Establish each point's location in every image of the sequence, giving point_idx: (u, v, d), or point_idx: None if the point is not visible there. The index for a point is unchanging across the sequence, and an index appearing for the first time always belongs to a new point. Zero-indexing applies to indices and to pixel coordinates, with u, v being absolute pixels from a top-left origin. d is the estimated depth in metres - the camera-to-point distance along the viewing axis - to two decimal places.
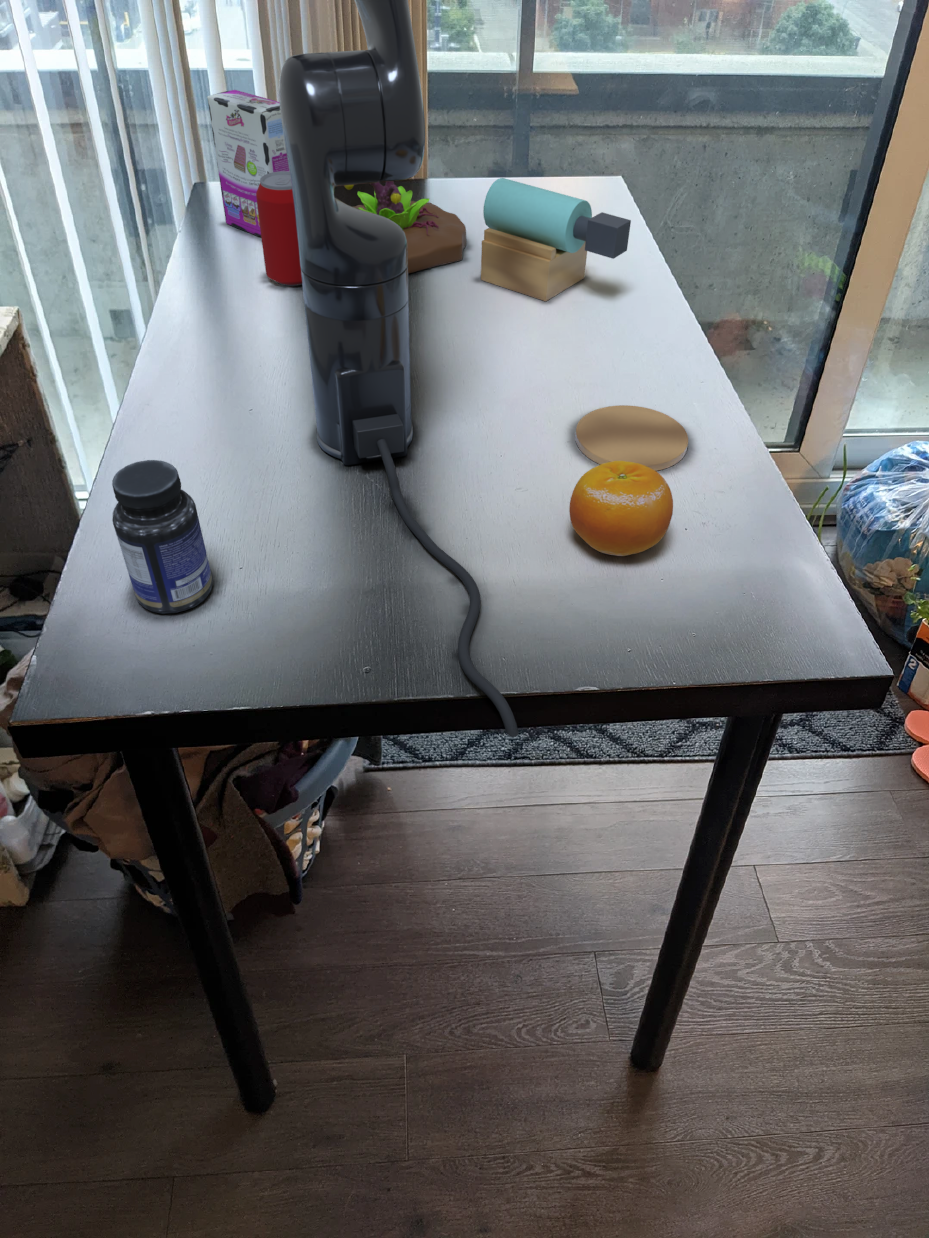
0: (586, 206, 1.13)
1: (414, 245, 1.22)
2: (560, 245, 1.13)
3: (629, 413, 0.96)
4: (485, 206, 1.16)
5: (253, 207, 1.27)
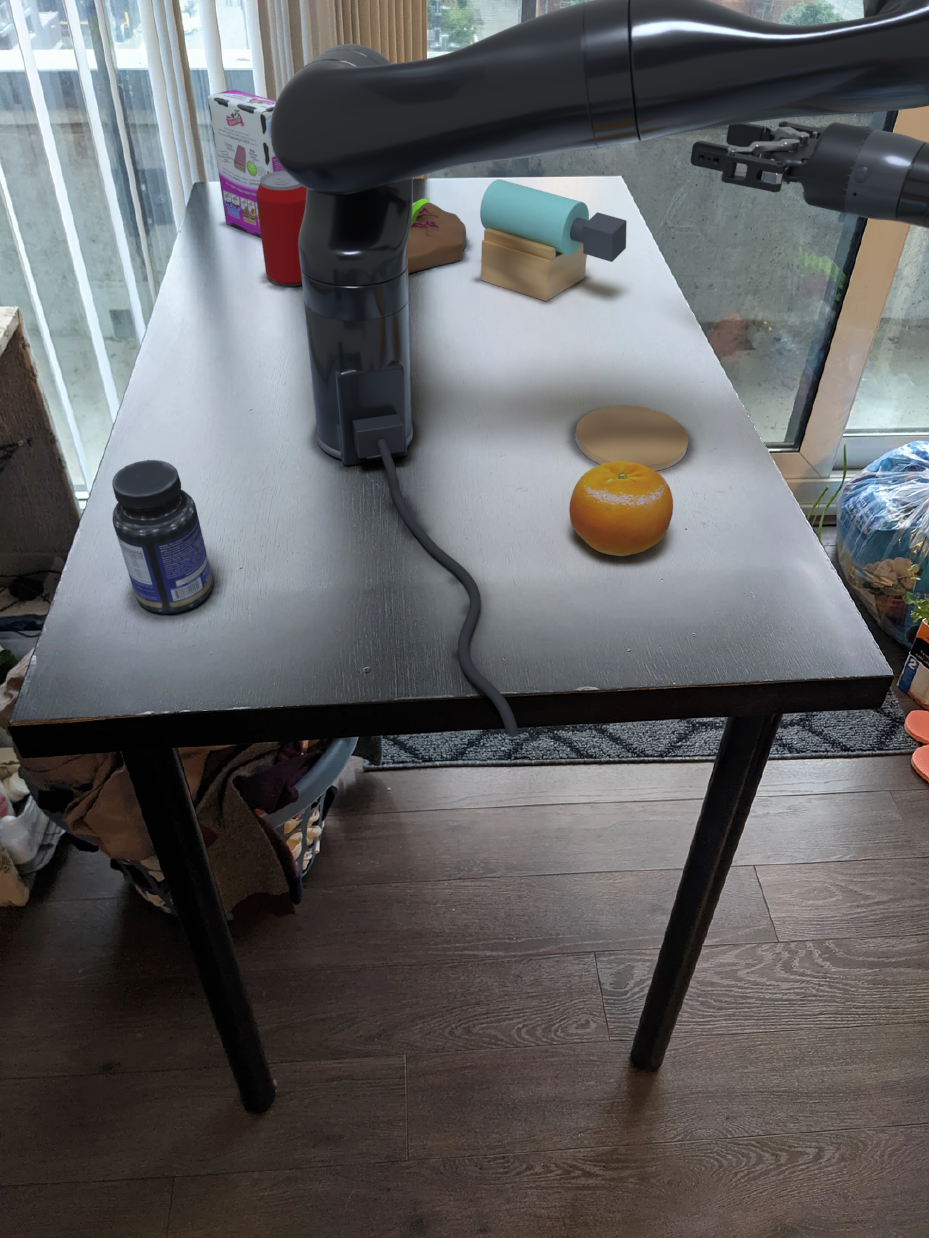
0: (581, 207, 1.12)
1: (414, 245, 1.22)
2: (558, 250, 1.14)
3: (629, 413, 0.96)
4: (481, 213, 1.16)
5: (253, 207, 1.27)
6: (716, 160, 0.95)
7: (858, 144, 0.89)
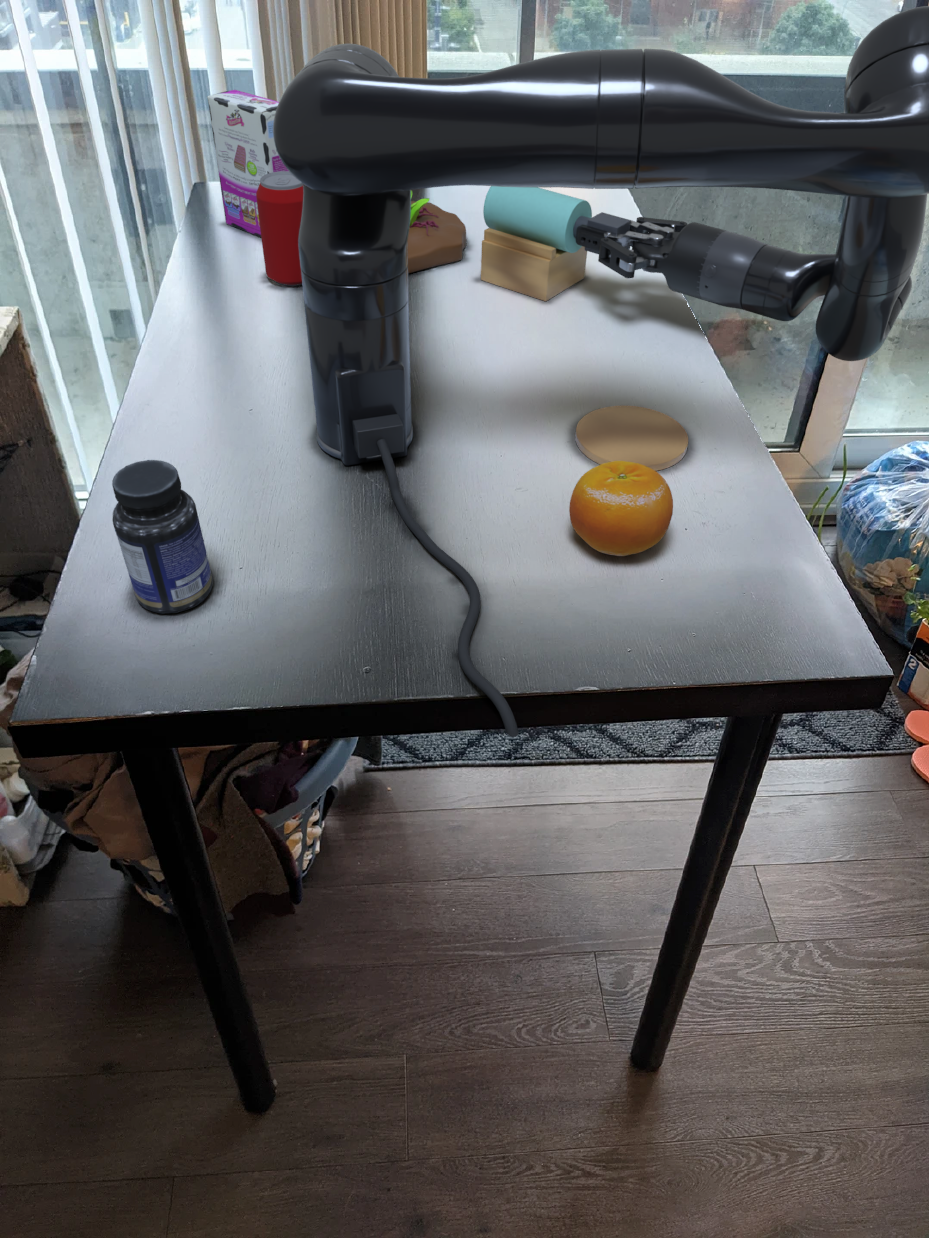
0: (586, 206, 1.13)
1: (414, 245, 1.22)
2: (560, 245, 1.13)
3: (629, 413, 0.96)
4: (485, 206, 1.16)
5: (253, 207, 1.27)
6: (595, 242, 1.10)
7: (708, 244, 1.02)
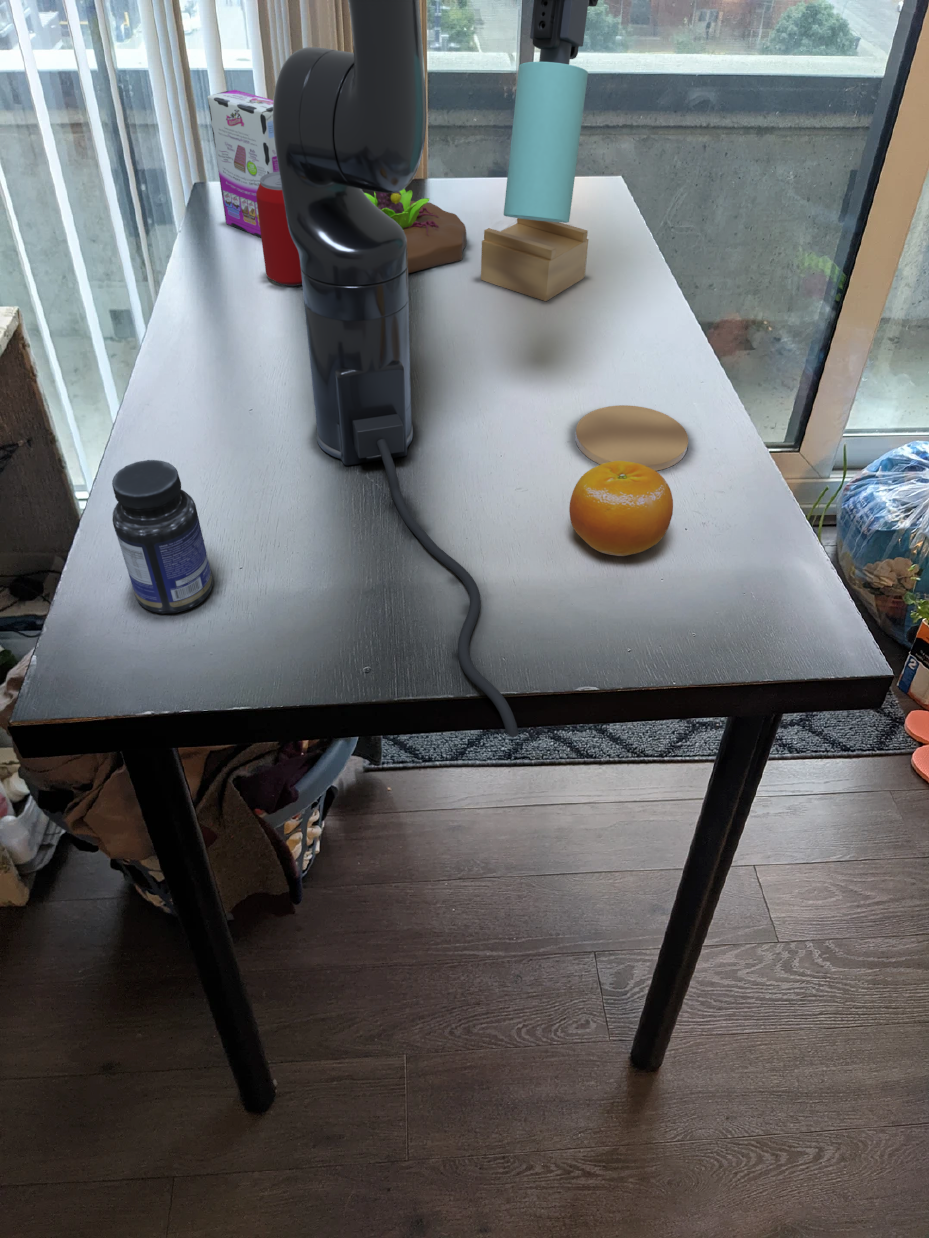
0: None
1: (414, 245, 1.22)
2: (556, 74, 0.79)
3: (629, 413, 0.96)
4: (516, 212, 0.84)
5: (253, 207, 1.27)
6: (547, 6, 0.78)
7: None
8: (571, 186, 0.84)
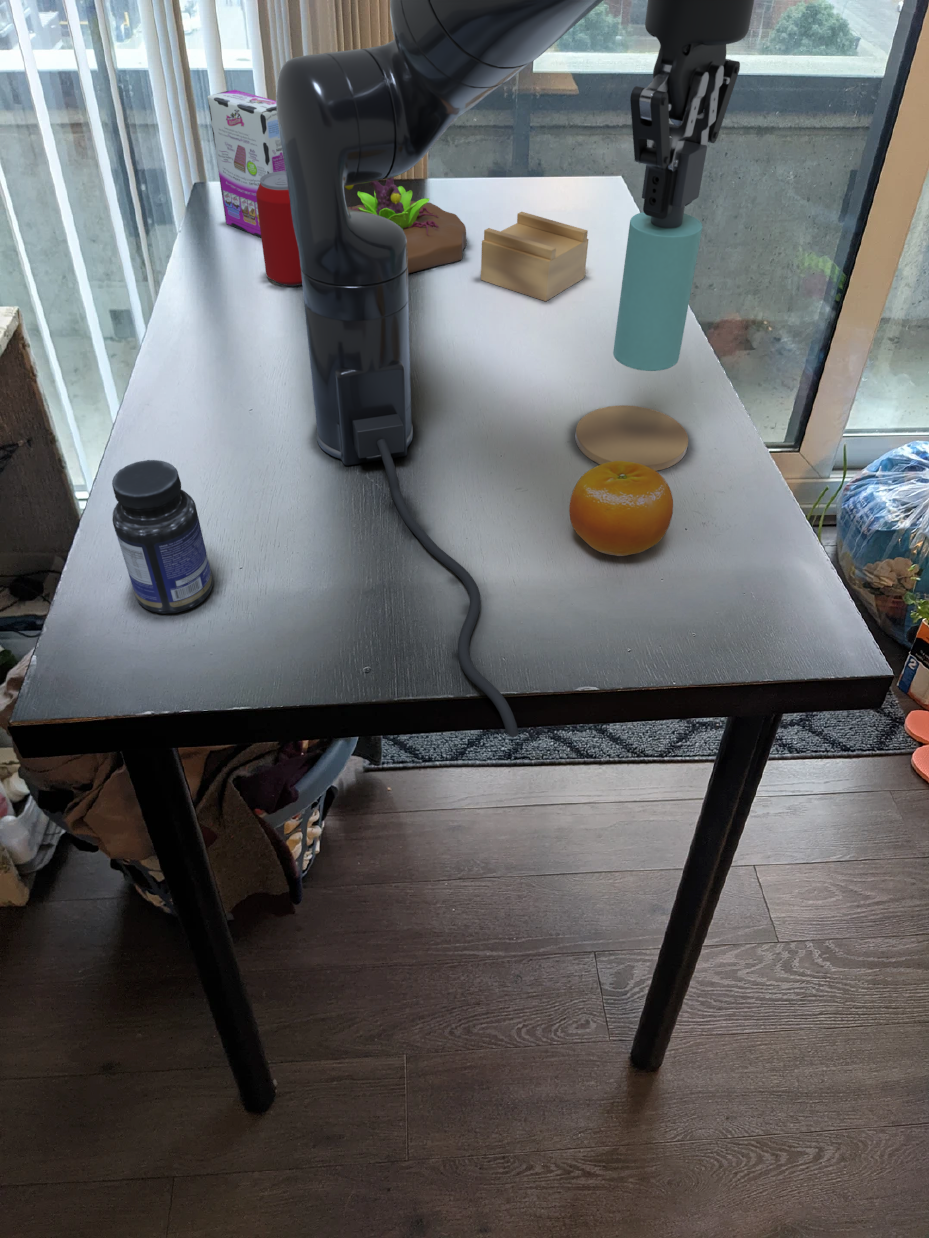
0: None
1: (414, 245, 1.22)
2: (666, 246, 0.78)
3: (629, 413, 0.96)
4: (624, 362, 0.86)
5: (253, 207, 1.27)
6: (658, 181, 0.75)
7: None
8: (681, 334, 0.84)
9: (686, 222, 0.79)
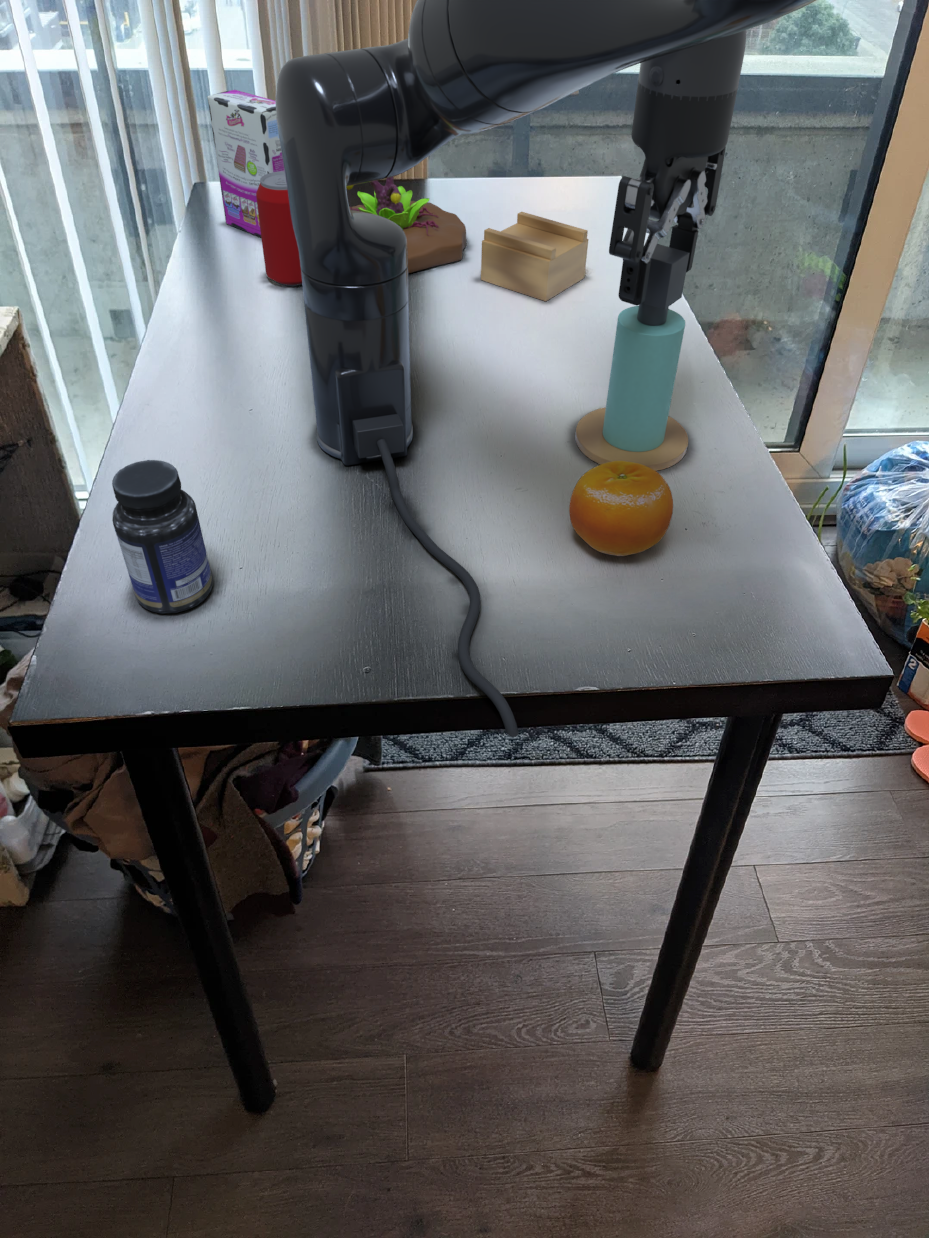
0: (638, 308, 0.87)
1: (414, 245, 1.22)
2: (651, 343, 0.83)
3: None
4: (613, 443, 0.91)
5: (253, 207, 1.27)
6: (632, 271, 0.78)
7: (638, 88, 0.72)
8: (666, 418, 0.90)
9: (670, 319, 0.85)
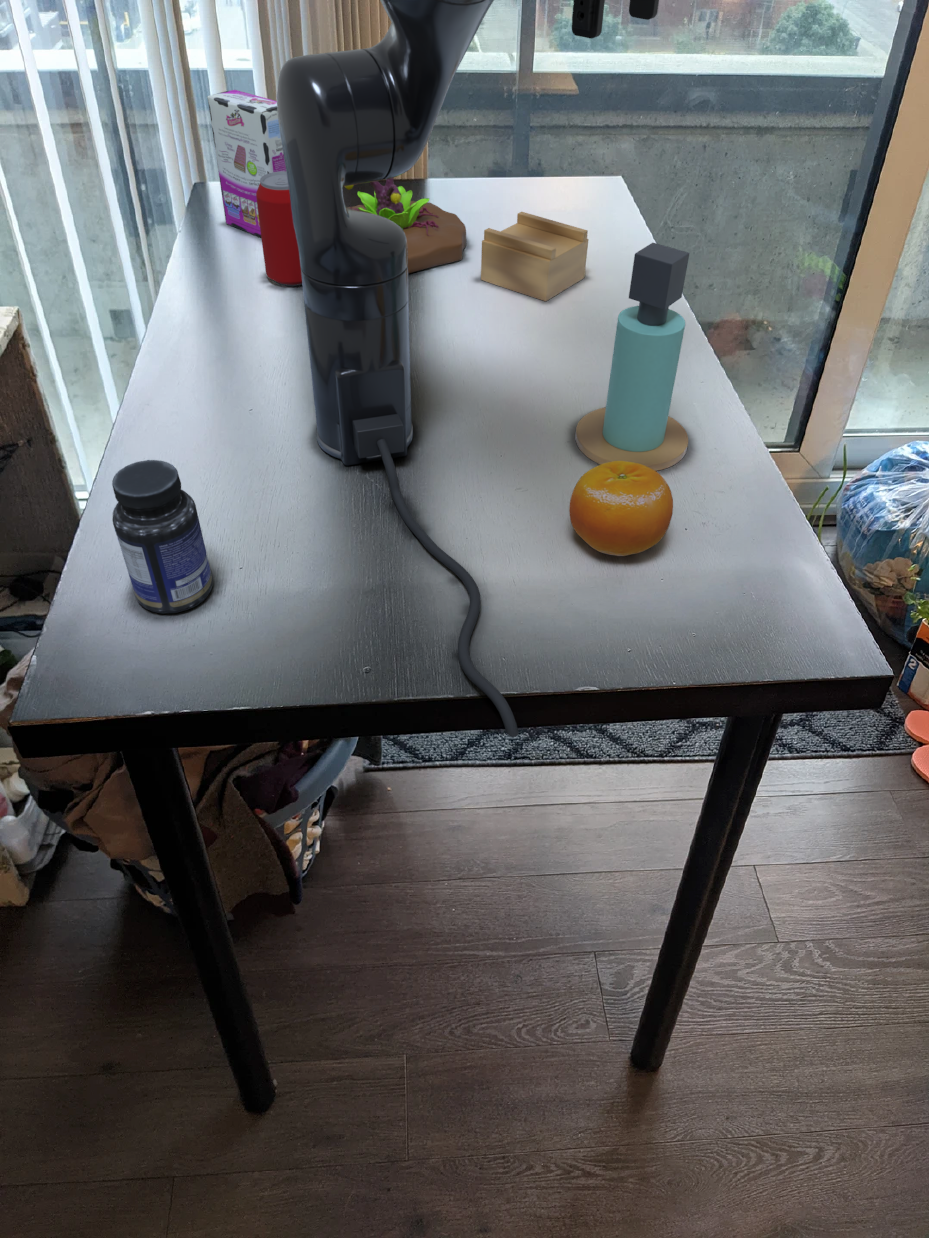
0: (638, 308, 0.87)
1: (414, 245, 1.22)
2: (651, 343, 0.83)
3: None
4: (613, 443, 0.91)
5: (253, 207, 1.27)
6: None
7: None
8: (666, 418, 0.90)
9: (670, 319, 0.85)
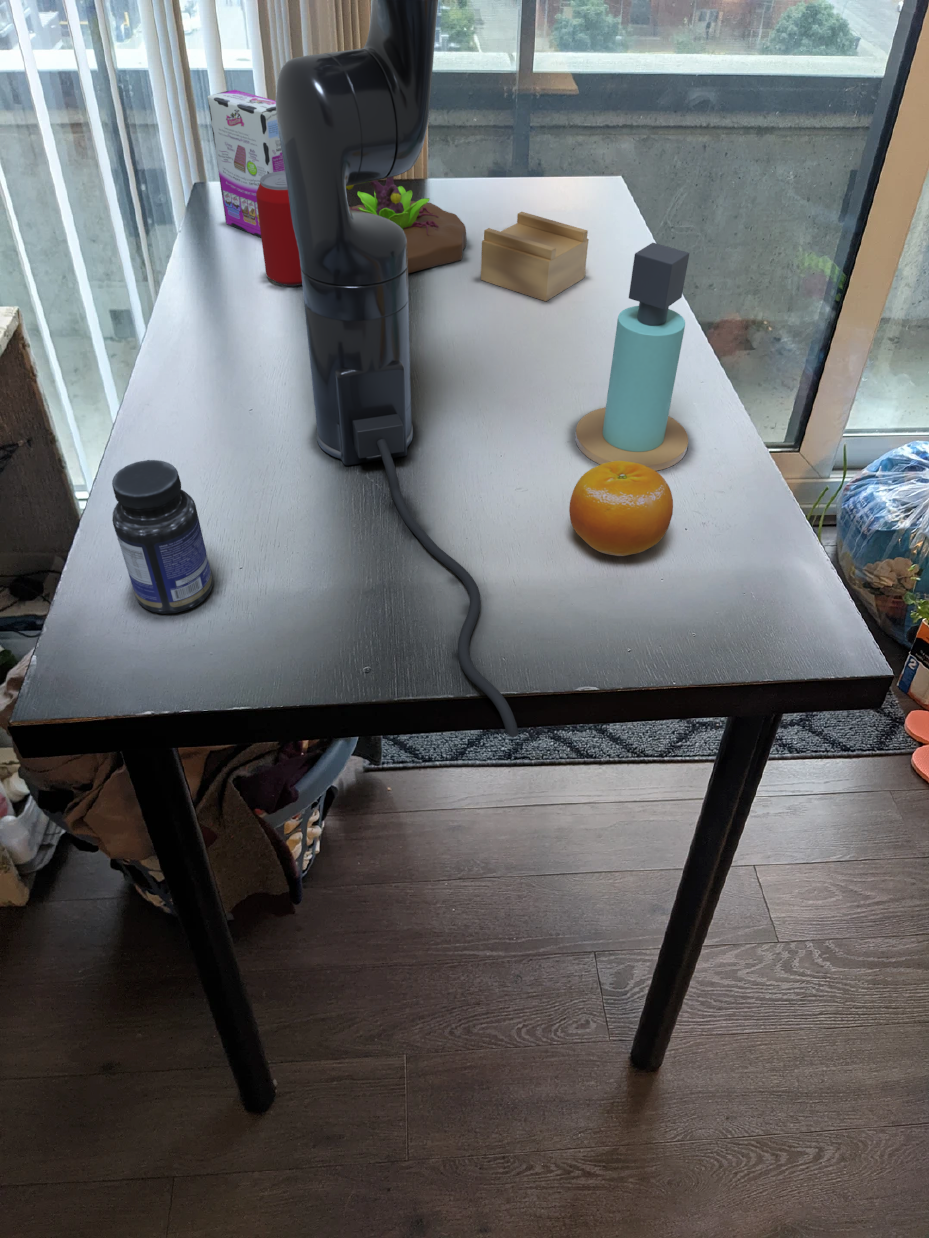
0: (638, 308, 0.87)
1: (414, 245, 1.22)
2: (651, 343, 0.83)
3: None
4: (613, 443, 0.91)
5: (253, 207, 1.27)
6: None
7: None
8: (666, 418, 0.90)
9: (670, 319, 0.85)
